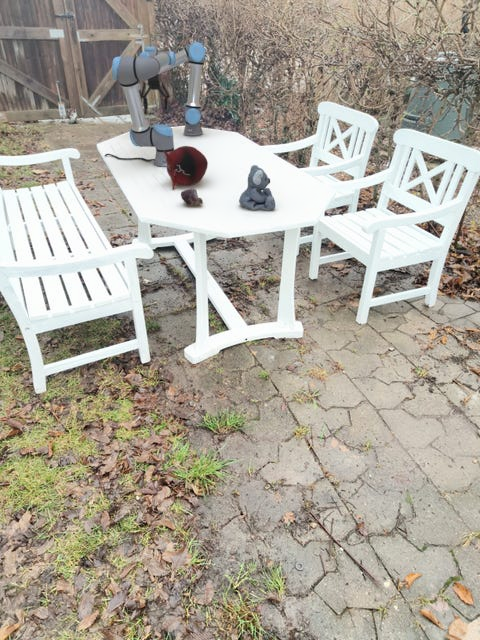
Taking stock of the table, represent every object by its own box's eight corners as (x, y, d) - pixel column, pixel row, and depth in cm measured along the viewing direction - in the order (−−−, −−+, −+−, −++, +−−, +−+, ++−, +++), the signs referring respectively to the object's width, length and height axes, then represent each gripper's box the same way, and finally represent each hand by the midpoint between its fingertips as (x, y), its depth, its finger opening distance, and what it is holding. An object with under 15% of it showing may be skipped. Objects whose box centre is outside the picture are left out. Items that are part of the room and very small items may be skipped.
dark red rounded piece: (165, 151, 264) (159, 150, 240) (204, 143, 263) (202, 140, 240) (174, 188, 271) (169, 190, 247) (212, 180, 270) (211, 181, 247)
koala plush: (276, 211, 223) (277, 171, 212) (240, 212, 222) (240, 172, 211) (271, 199, 237) (272, 161, 226) (237, 200, 236) (237, 162, 225)
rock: (196, 202, 238) (178, 205, 233) (194, 185, 234) (176, 188, 230) (205, 205, 228) (187, 208, 224) (203, 188, 224) (185, 191, 220)
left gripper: (172, 73, 298) (175, 108, 310) (136, 73, 301) (140, 107, 313) (169, 74, 292) (172, 110, 304) (132, 74, 295) (137, 109, 307)
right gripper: (149, 89, 333) (153, 122, 346) (124, 89, 335) (129, 122, 348) (146, 90, 327) (150, 124, 340) (121, 90, 329) (125, 124, 342)
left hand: (156, 109), depth 309 cm, fingers open, 13 cm apart
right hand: (139, 123), depth 344 cm, fingers closed on brick, 6 cm apart
